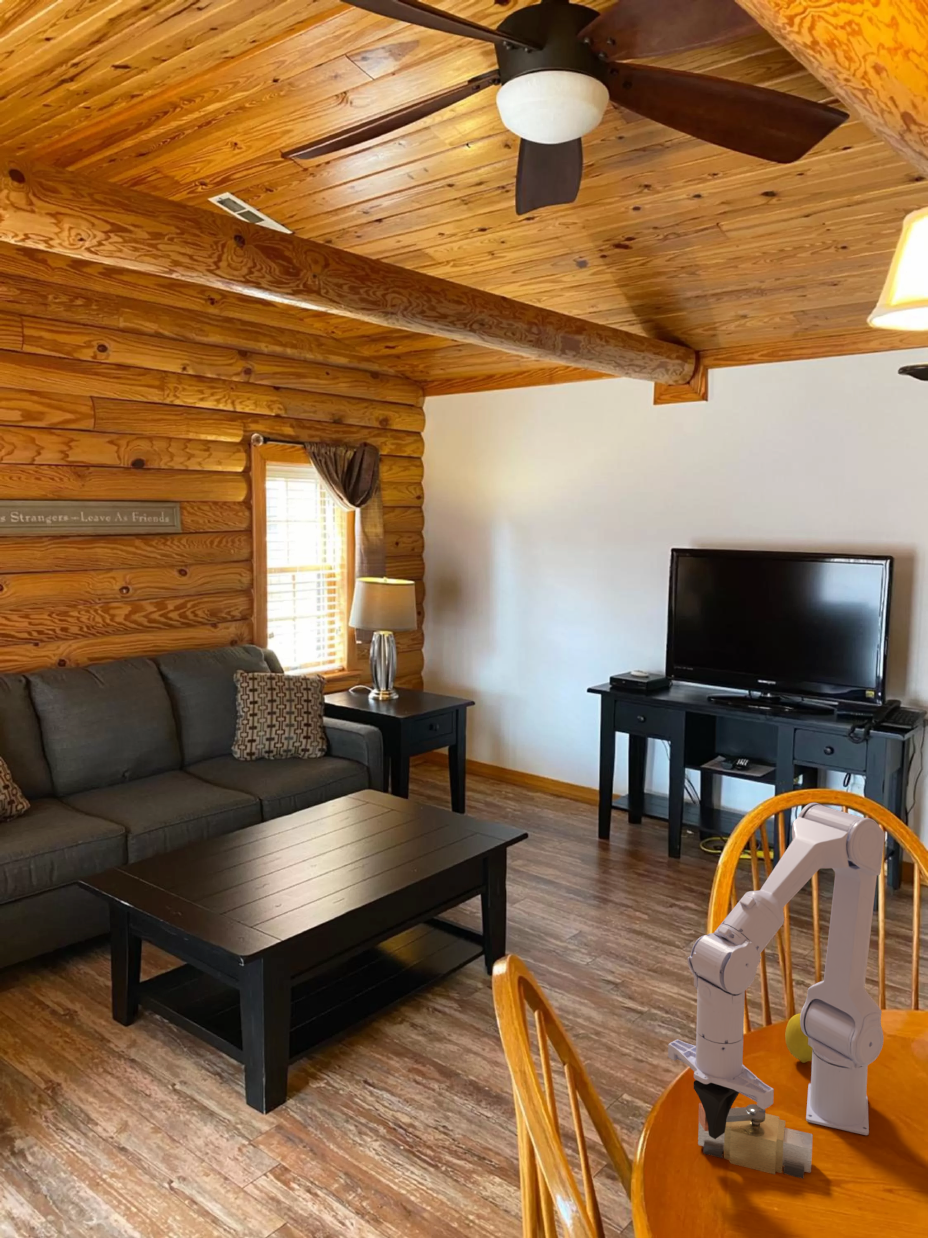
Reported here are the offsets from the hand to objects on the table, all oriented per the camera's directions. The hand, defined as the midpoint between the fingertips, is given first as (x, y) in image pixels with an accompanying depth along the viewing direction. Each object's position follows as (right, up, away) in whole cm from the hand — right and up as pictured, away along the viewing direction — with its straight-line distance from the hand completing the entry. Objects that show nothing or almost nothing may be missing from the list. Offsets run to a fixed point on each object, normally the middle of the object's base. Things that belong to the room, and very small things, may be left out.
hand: (716, 1134), depth 118 cm
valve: (+6, -5, +4) cm, 8 cm away
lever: (+3, 0, +3) cm, 4 cm away
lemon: (+20, -3, +26) cm, 33 cm away
